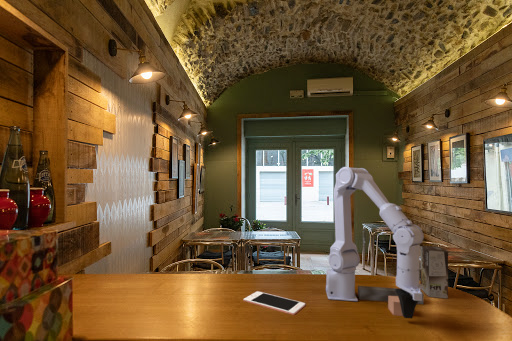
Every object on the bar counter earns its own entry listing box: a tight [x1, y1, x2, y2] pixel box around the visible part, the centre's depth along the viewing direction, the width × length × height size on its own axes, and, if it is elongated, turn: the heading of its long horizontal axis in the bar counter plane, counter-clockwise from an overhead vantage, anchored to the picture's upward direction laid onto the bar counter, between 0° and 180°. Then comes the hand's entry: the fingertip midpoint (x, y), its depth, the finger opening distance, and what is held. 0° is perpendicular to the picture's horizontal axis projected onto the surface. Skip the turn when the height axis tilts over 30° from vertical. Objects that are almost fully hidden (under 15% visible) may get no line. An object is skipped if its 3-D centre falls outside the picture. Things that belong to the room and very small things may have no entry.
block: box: [387, 296, 404, 317], centre depth 91 cm, size 5×5×4 cm
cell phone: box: [243, 290, 306, 316], centre depth 96 cm, size 9×18×1 cm, turn 58°
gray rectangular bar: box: [357, 285, 424, 305], centre depth 101 cm, size 20×3×4 cm, turn 83°
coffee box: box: [419, 245, 449, 299], centre depth 109 cm, size 9×6×16 cm
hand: (407, 317), depth 85 cm, fingers closed
